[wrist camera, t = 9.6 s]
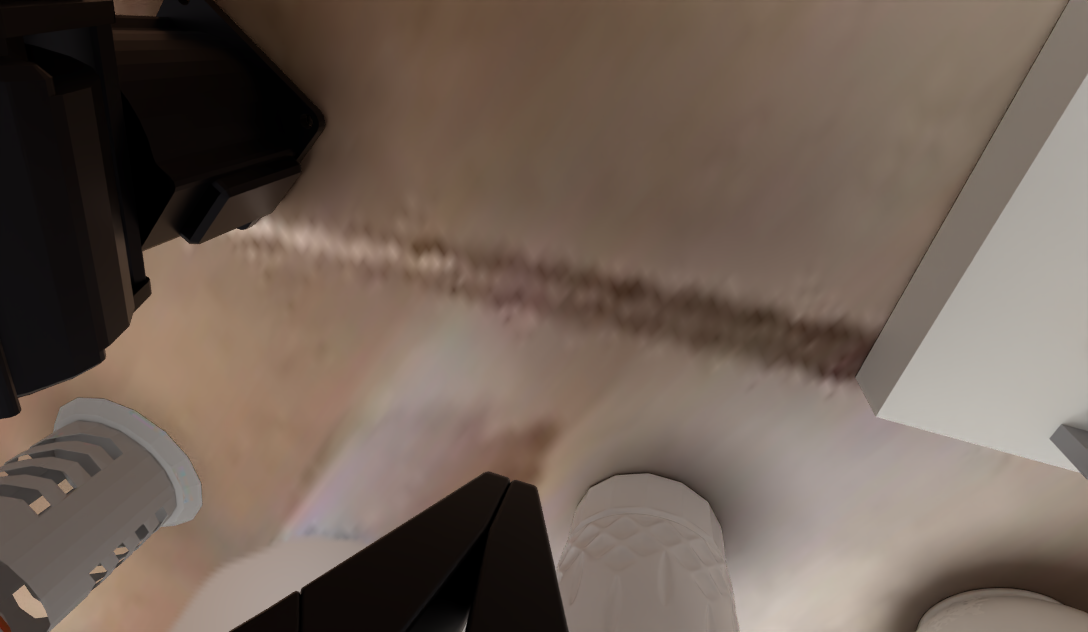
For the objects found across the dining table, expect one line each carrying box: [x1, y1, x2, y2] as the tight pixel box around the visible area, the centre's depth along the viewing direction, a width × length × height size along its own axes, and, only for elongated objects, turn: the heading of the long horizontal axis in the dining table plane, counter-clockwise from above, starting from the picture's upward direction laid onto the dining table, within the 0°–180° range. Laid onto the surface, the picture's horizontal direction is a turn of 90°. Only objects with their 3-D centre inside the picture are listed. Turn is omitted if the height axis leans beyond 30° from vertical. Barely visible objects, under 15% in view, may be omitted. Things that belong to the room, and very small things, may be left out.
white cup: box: [556, 473, 740, 632], centre depth 21 cm, size 8×8×10 cm
